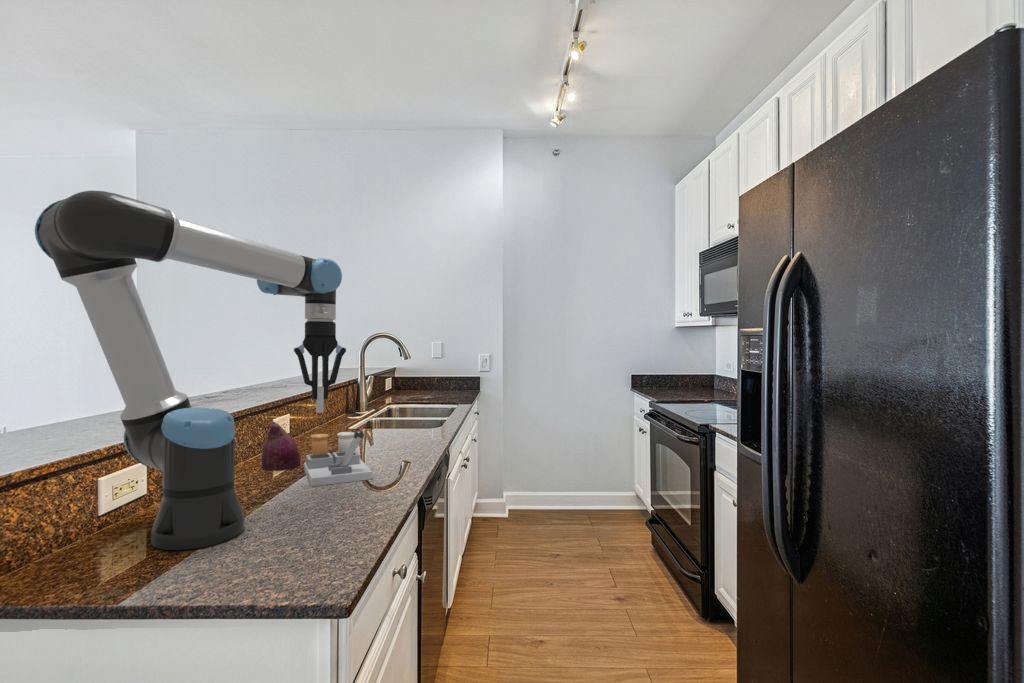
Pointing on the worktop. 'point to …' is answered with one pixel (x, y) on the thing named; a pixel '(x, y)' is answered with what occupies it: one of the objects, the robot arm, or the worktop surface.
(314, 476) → the panel
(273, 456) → the vegetable
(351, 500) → the worktop surface
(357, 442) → the lever
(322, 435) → the plunger orange
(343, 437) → the plunger white
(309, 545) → the worktop surface
